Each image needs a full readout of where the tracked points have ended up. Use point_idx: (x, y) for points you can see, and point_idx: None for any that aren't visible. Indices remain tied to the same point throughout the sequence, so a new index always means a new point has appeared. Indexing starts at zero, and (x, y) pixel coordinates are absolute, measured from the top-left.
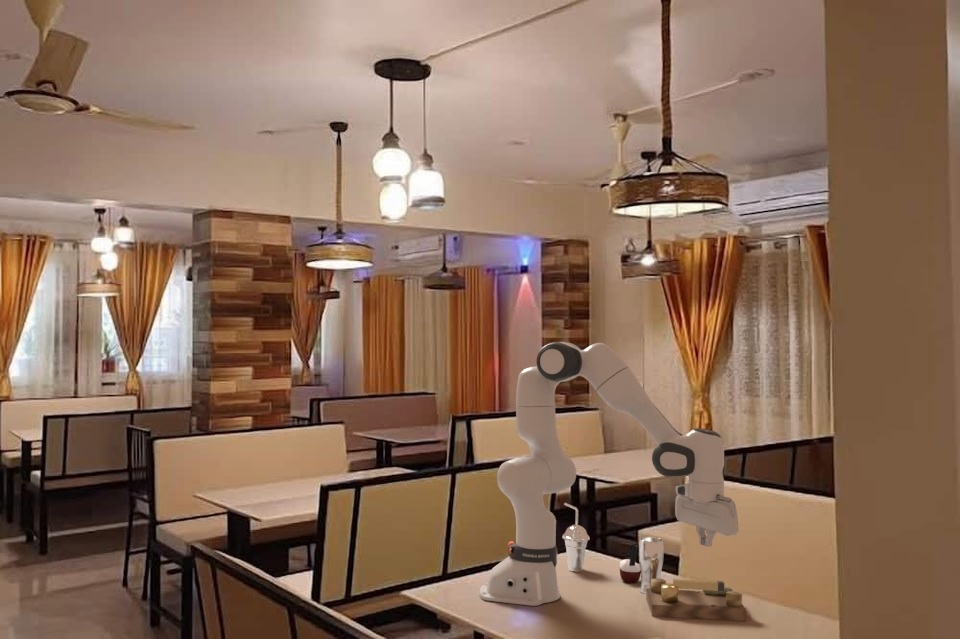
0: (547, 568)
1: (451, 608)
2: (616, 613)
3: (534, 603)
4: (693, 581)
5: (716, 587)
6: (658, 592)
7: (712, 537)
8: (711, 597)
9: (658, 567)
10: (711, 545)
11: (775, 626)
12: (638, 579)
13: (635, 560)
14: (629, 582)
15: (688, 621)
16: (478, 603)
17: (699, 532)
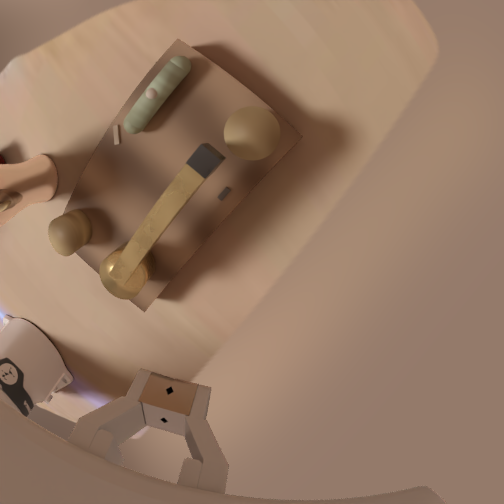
0: (33, 388)
1: (72, 418)
2: (119, 332)
3: (71, 381)
4: (148, 240)
5: (204, 180)
6: (87, 241)
7: (212, 441)
8: (168, 134)
9: (14, 194)
10: (210, 391)
11: (368, 110)
12: (3, 162)
13: None
14: None
15: (215, 262)
16: (60, 399)
17: (118, 442)
